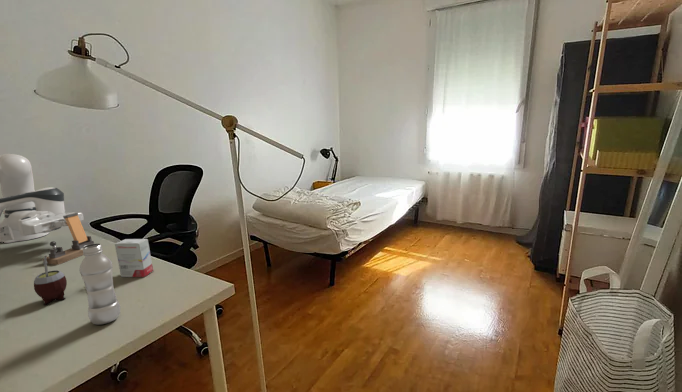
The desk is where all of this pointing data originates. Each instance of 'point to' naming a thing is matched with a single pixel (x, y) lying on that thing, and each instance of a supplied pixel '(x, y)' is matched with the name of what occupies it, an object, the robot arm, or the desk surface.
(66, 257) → the switch panel
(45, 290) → the mate gourd
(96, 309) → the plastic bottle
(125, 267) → the ink box
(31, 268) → the desk surface
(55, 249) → the toggle lever
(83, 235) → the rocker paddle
